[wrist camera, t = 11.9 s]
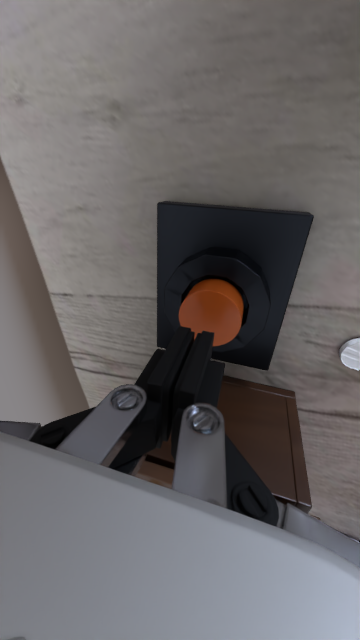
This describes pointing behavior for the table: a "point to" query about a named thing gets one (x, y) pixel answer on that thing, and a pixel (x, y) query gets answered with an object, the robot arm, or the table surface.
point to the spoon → (351, 354)
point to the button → (213, 310)
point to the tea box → (261, 438)
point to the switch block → (230, 269)
